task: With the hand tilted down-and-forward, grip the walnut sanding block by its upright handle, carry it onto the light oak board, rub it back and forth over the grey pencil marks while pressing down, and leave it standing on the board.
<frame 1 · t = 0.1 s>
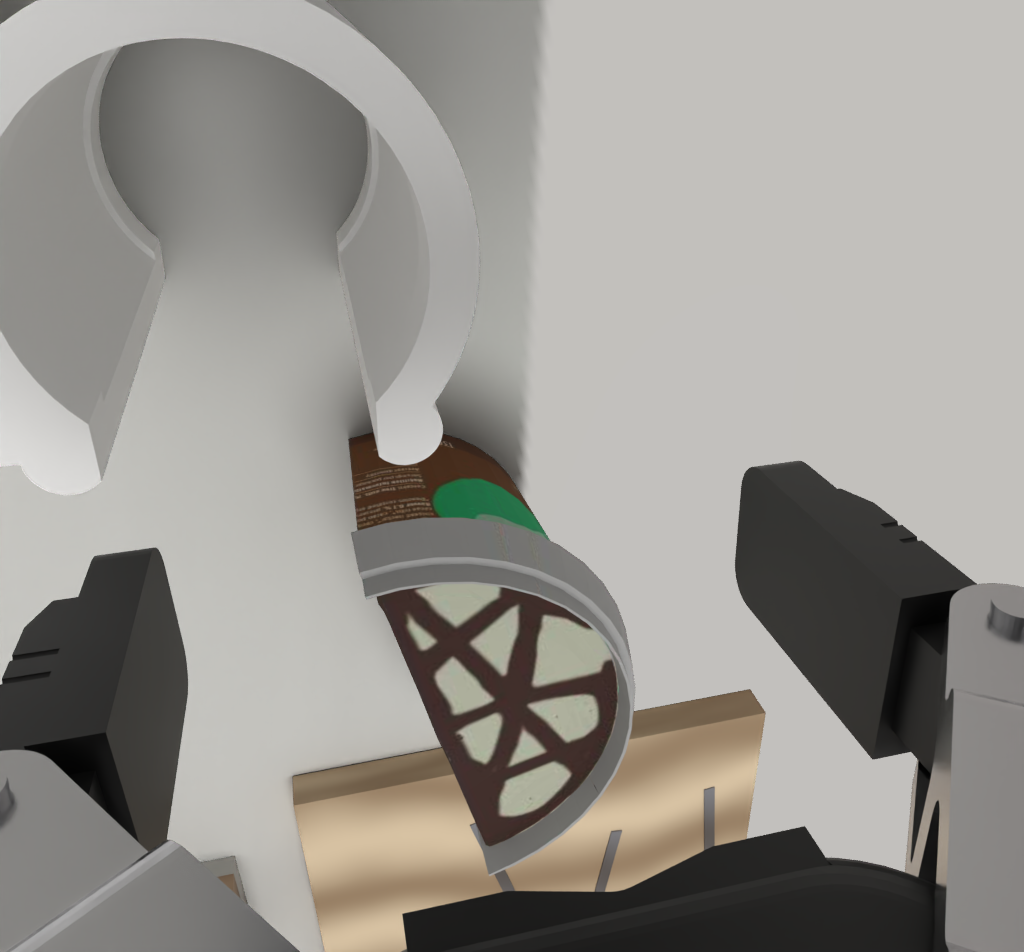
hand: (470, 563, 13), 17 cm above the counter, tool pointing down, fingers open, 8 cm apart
oak board: (534, 840, 42), on the counter
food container: (472, 516, 33), on the counter
sanding block: (127, 923, 39), on the counter
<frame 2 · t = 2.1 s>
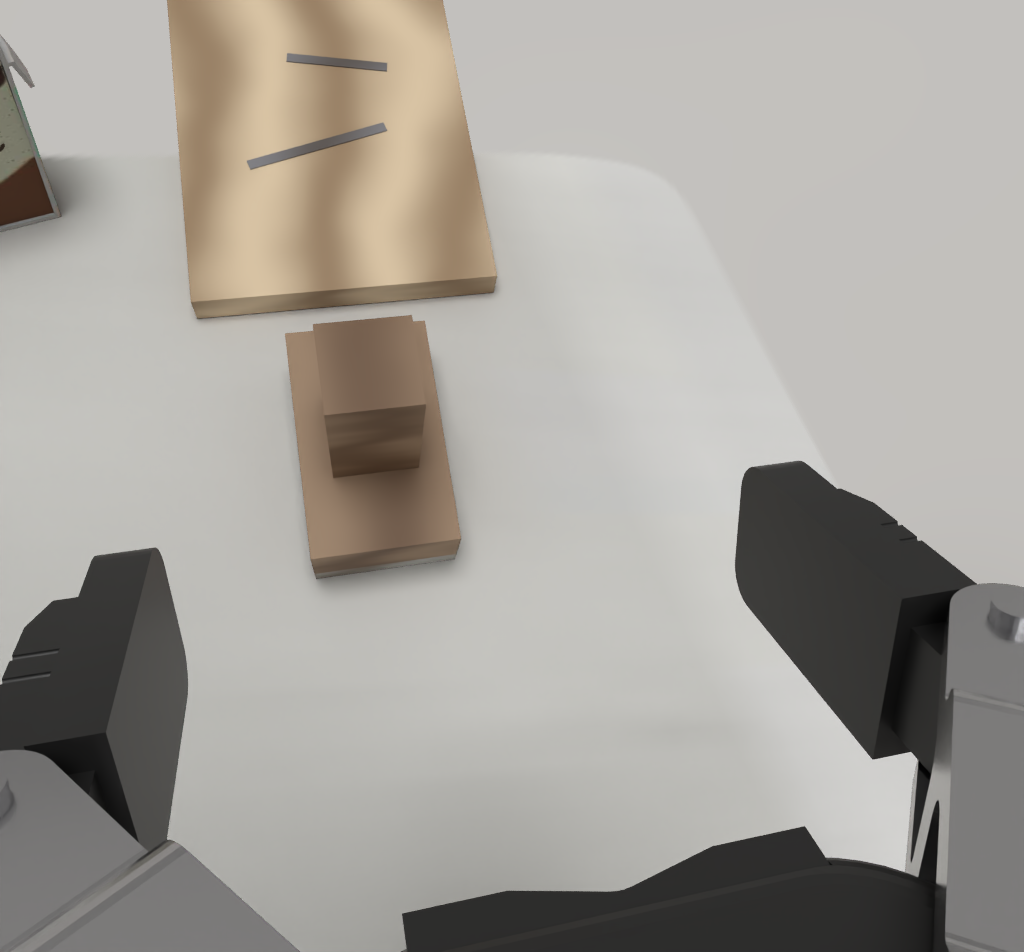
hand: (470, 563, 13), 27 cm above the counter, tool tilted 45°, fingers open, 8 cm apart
oak board: (325, 132, 47), on the counter
sanding block: (371, 462, 41), on the counter
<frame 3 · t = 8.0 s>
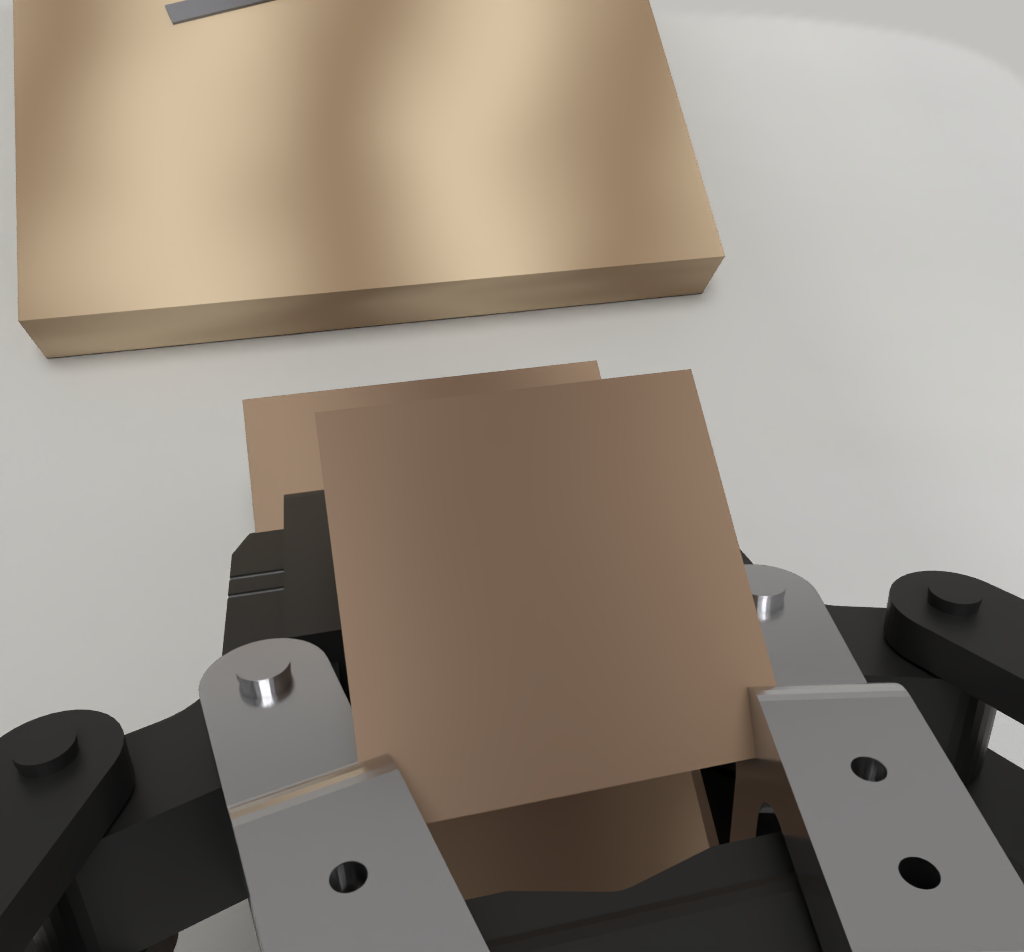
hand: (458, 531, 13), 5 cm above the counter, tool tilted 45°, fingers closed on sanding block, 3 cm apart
sanding block: (458, 701, 17), on the counter, touching gripper
when the fingers open (6 cm above the counter, at t = 18.7 s): sanding block drops 4 cm, resting on oak board.
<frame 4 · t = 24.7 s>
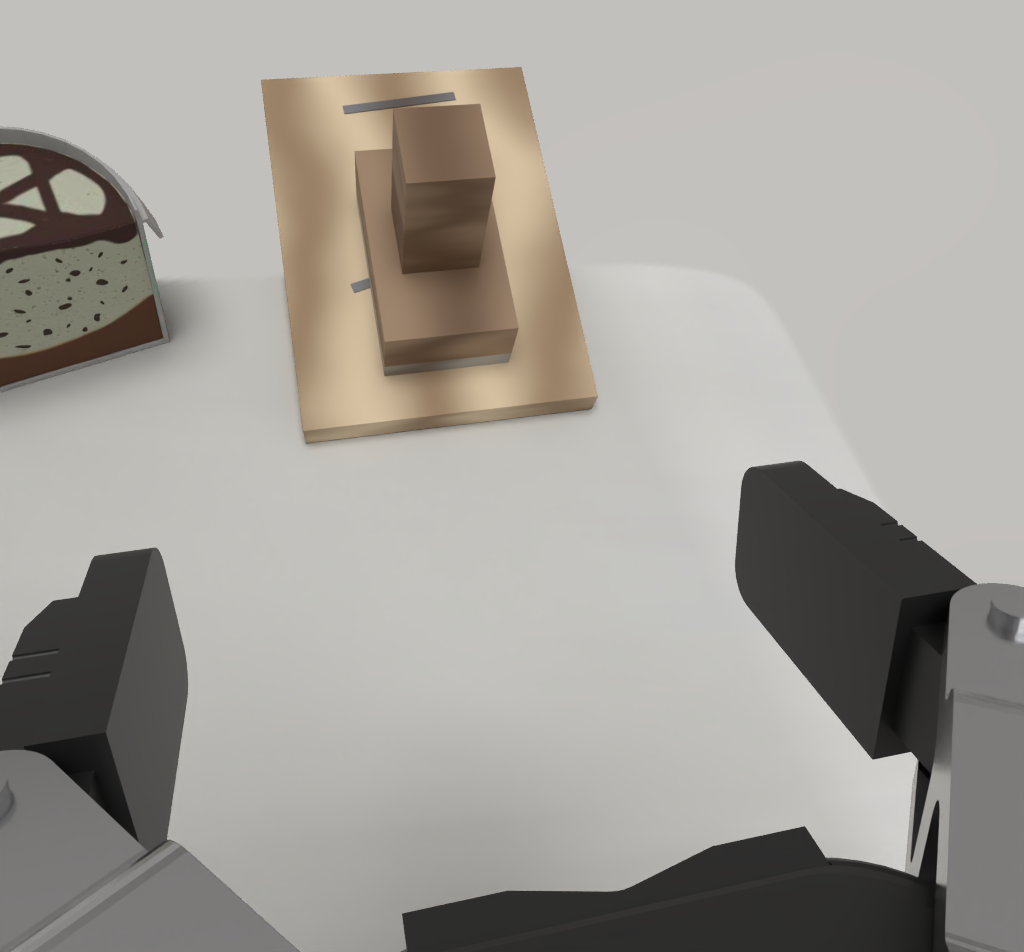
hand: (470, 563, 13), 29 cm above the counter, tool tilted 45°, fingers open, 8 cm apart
oak board: (421, 248, 47), on the counter
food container: (53, 318, 44), on the counter
sanding block: (430, 277, 45), point 2 cm above the counter, touching oak board
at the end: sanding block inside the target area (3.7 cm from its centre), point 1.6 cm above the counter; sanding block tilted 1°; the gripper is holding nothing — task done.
